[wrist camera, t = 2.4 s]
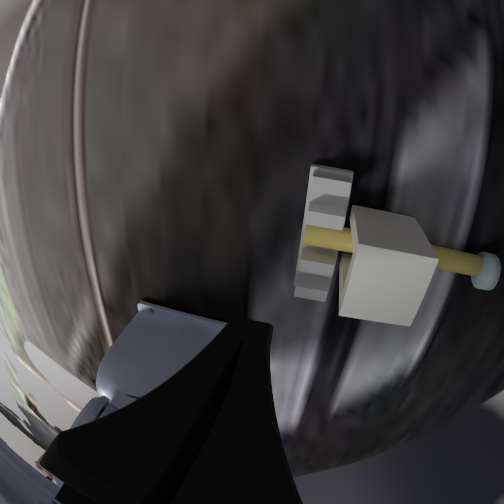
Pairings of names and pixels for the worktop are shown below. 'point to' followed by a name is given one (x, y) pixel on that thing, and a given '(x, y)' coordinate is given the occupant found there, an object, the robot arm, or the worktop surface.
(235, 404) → the robot arm
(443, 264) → the fibre cord
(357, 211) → the light grey block
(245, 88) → the worktop surface
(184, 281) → the worktop surface
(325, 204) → the cable comb
